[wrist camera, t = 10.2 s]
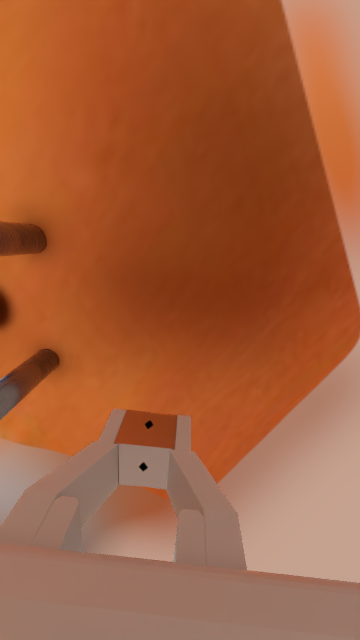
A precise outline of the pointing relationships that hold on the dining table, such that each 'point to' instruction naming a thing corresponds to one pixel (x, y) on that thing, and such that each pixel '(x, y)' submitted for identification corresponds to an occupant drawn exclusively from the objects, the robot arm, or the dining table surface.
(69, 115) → the dining table surface
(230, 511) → the robot arm
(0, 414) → the far post
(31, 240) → the near post
